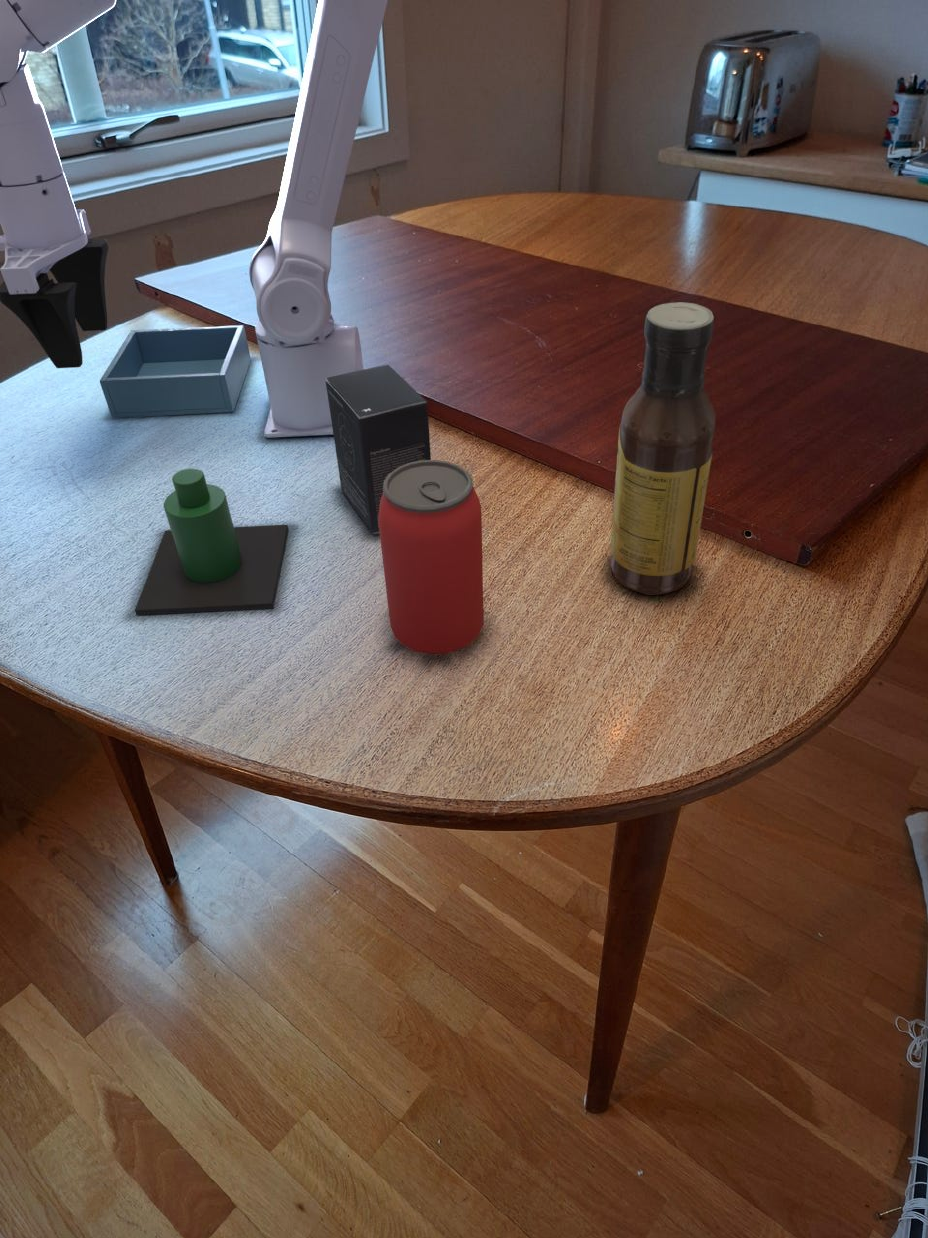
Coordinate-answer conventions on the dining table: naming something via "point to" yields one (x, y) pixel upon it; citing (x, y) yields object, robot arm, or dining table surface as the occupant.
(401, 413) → the box
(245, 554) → the mat
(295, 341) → the robot arm
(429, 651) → the beer can
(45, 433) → the dining table surface
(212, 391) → the case
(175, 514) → the bottle
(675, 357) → the sauce bottle
